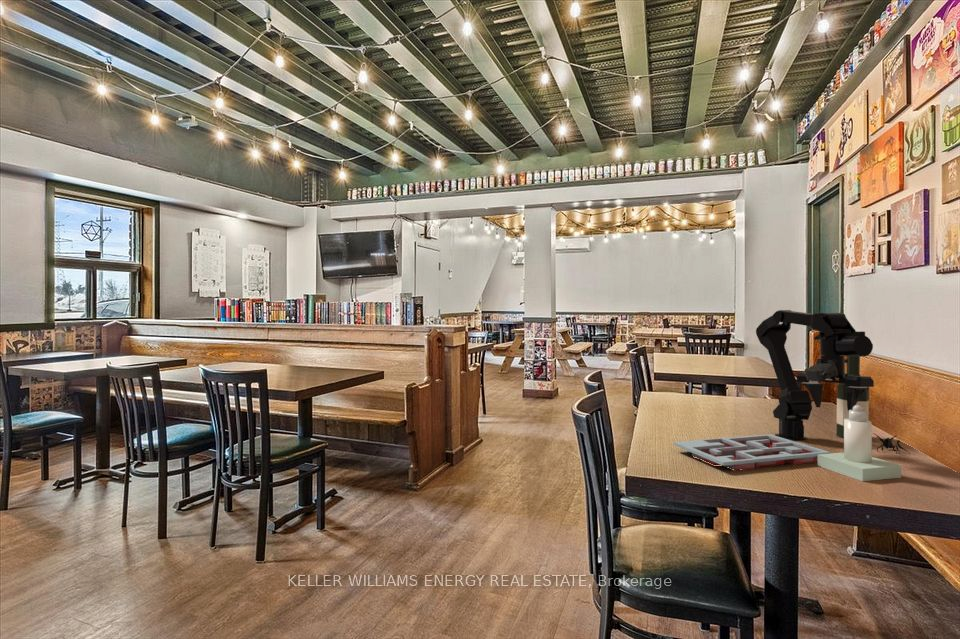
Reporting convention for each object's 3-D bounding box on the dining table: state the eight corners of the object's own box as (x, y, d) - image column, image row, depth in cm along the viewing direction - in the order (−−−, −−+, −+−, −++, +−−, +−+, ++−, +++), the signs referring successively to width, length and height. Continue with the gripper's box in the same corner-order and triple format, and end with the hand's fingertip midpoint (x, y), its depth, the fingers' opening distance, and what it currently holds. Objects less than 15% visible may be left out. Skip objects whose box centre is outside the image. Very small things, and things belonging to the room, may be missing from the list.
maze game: (769, 444, 150) (769, 434, 150) (830, 463, 131) (830, 452, 131) (673, 452, 141) (673, 442, 141) (723, 474, 122) (723, 462, 122)
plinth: (817, 465, 128) (817, 454, 127) (853, 462, 130) (853, 451, 130) (862, 481, 116) (862, 469, 116) (901, 477, 118) (901, 465, 118)
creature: (914, 461, 135) (898, 447, 143) (917, 443, 134) (901, 430, 142) (881, 458, 138) (867, 445, 145) (883, 441, 136) (870, 429, 144)
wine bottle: (875, 439, 153) (876, 346, 153) (856, 441, 151) (857, 346, 150) (848, 433, 161) (849, 344, 161) (830, 435, 159) (831, 345, 158)
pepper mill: (838, 457, 125) (838, 403, 125) (855, 455, 126) (855, 402, 126) (860, 463, 120) (860, 407, 120) (877, 461, 121) (877, 406, 121)
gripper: (782, 354, 146) (783, 406, 145) (844, 356, 128) (846, 414, 127) (809, 354, 149) (810, 405, 148) (874, 356, 131) (876, 413, 131)
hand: (833, 409), depth 139 cm, fingers open, 9 cm apart
